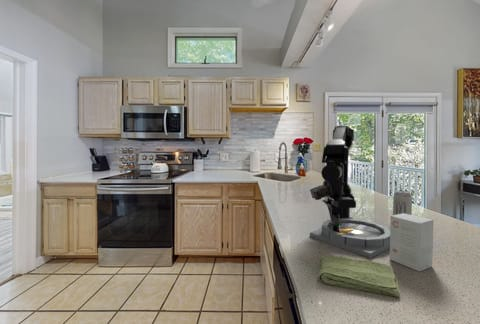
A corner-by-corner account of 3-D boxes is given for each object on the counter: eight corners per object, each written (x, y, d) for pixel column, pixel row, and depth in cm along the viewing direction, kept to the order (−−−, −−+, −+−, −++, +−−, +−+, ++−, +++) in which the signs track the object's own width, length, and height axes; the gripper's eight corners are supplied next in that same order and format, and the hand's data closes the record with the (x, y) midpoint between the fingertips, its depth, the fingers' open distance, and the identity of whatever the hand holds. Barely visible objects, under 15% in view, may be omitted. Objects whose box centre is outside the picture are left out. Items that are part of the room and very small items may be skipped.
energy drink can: (390, 230, 95) (392, 192, 94) (394, 226, 100) (395, 189, 99) (409, 233, 91) (410, 194, 90) (412, 229, 96) (413, 191, 95)
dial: (361, 225, 96) (362, 207, 96) (393, 241, 80) (394, 219, 79) (322, 227, 94) (322, 208, 94) (346, 244, 78) (346, 222, 77)
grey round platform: (343, 224, 102) (344, 214, 102) (402, 240, 84) (403, 228, 84) (309, 236, 90) (309, 224, 89) (370, 258, 72) (370, 244, 71)
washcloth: (403, 302, 52) (403, 287, 52) (317, 285, 59) (317, 272, 59) (391, 272, 64) (391, 261, 64) (321, 261, 71) (321, 250, 71)
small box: (432, 266, 66) (434, 219, 66) (419, 272, 64) (421, 223, 63) (401, 255, 74) (403, 212, 73) (388, 259, 71) (389, 215, 70)
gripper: (303, 175, 96) (302, 214, 97) (325, 182, 77) (323, 230, 79) (330, 175, 97) (328, 213, 98) (358, 182, 79) (355, 230, 80)
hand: (332, 221), depth 89 cm, fingers closed
